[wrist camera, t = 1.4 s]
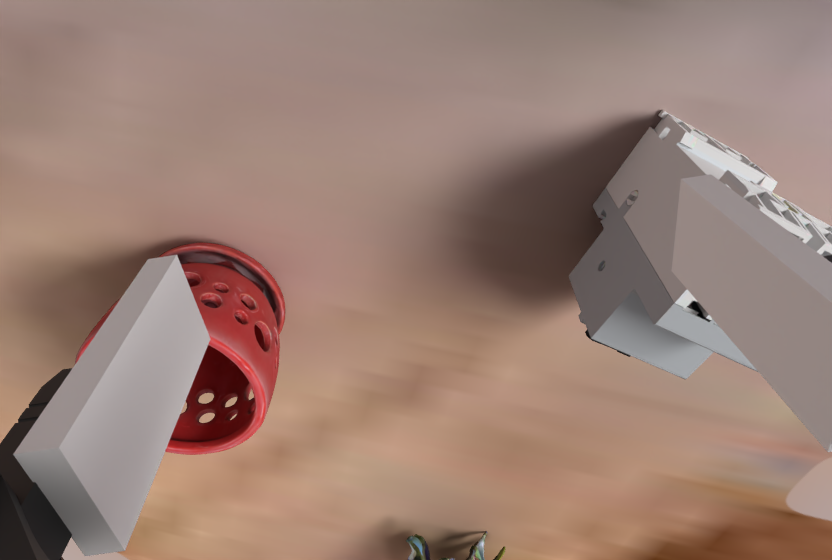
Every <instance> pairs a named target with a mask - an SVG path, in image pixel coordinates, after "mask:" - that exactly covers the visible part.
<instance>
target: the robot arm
mask: <svg viewBox="0 0 832 560" xmlns="http://www.w3.org/2000/svg"><path fill="white" fill-rule="evenodd" d="M671 271H672V272H673V273H674V275H675V276H676V277H677V278H678V279H679V280H680V282H681V283H682V284H683V285H684V286H685V287H686V288H687V290H688V291H689V292H690V293H691V294H692V295H693V297H694V298H695V299H696V300H697V301H698V302H699V304H700V305H701V306H702V307H703V308H704V309H705V310H706V312H707V313H708V314H709V315H710V316H711V317H712V319H713V320H714V321H715V322H716V323H717V324H718V326H719V327H720V328H721V329H722V330H723V331H724V333H725V334H726V335H727V336H728V337H729V338H730V339H731V341H732V342H733V343H734V344H735V345H736V346H737V348H738V349H739V350H740V351H741V352H742V353H743V355H744V356H745V357H746V358H747V359H748V360H749V361H750V363H751V364H752V365H753V366H754V367H755V368H756V370H757V371H758V372H759V373H760V374H761V375H762V377H763V378H764V379H765V380H766V381H767V382H768V383H769V385H770V386H771V387H772V388H773V389H774V390H775V392H776V393H777V394H778V395H779V396H780V397H781V399H782V400H783V401H784V402H785V403H786V404H787V406H788V407H789V408H790V409H791V410H792V411H793V412H794V414H795V415H796V416H797V417H798V418H799V419H800V421H801V422H802V423H803V424H804V425H805V426H806V428H807V429H808V430H809V431H810V432H811V433H812V434H813V436H814V437H815V438H816V439H817V440H818V441H819V443H820V444H821V445H822V446H823V447H824V448H825V450H826V451H827V452H832V255H828V256H822V255H820V254H819V253H817V252H816V251H815V250H813V249H812V248H811V247H809V246H808V245H807V244H805V243H804V242H802V241H801V240H800V239H798V238H797V237H796V236H794V235H793V234H792V233H790V232H789V231H787V230H786V229H785V228H783V227H782V226H781V225H779V224H778V223H777V222H775V221H774V220H772V219H771V218H770V217H768V216H767V215H766V214H764V213H763V212H762V211H760V210H759V209H757V208H756V207H755V206H753V205H752V204H751V203H749V202H748V201H747V200H745V199H744V198H742V197H741V196H740V195H738V194H737V193H736V192H734V191H733V190H732V189H730V188H729V187H727V186H726V185H725V184H723V183H722V182H721V181H719V180H718V179H717V178H715V177H714V176H712V175H711V174H709V175H703V176H696V177H689V178H683V179H681V182H680V192H679V202H678V212H677V221H676V231H675V241H674V251H673V261H672V270H671ZM209 341H210V337H209V334H208V331H207V329H206V326H205V324H204V321H203V319H202V316H201V314H200V311H199V309H198V306H197V304H196V301H195V299H194V296H193V294H192V291H191V289H190V286H189V284H188V281H187V279H186V276H185V274H184V271H183V269H182V266H181V264H180V261H179V259H178V256H177V255H172V256H165V257H158V258H152V259H148V260H147V261H146V263H145V264H144V266H143V267H142V269H141V270H140V271H139V273H138V274H137V276H136V277H135V279H134V280H133V282H132V283H131V285H130V286H129V287H128V289H127V290H126V292H125V293H124V295H123V296H122V298H121V299H120V300H119V302H118V303H117V305H116V306H115V308H114V309H113V311H112V312H111V313H110V315H109V316H108V318H107V319H106V321H105V322H104V324H103V325H102V326H101V328H100V329H99V331H98V332H97V334H96V335H95V337H94V338H93V340H92V341H91V342H90V344H89V345H88V347H87V348H86V350H85V351H84V353H83V354H82V355H81V357H80V358H79V360H78V361H77V363H76V364H75V366H74V367H73V368H71V369H64V370H62V371H60V372H59V373H58V374H57V375H56V376H54V377H53V378H52V379H51V380H50V381H48V382H47V383H46V384H45V385H43V386H42V387H41V389H40V390H39V391H38V393H37V394H36V396H35V397H34V398H33V400H32V401H31V402H30V404H29V408H26V409H25V411H24V412H23V413H22V415H21V416H20V418H19V419H18V423H15V424H14V426H13V427H12V428H11V430H10V431H9V433H8V434H7V435H6V437H5V438H4V439H3V441H2V442H1V444H0V560H64V559H63V558H62V554H63V552H64V550H65V548H66V546H67V544H68V542H69V540H70V538H71V537H72V539H73V540H74V541H75V543H76V544H77V546H78V547H79V548H80V550H81V551H82V553H83V554H84V555H85V556H90V555H98V554H105V553H112V552H119V551H125V549H126V547H127V544H128V542H129V539H130V537H131V534H132V532H133V529H134V527H135V525H136V522H137V520H138V517H139V515H140V512H141V510H142V507H143V505H144V502H145V500H146V497H147V495H148V492H149V490H150V487H151V485H152V482H153V480H154V478H155V475H156V473H157V470H158V468H159V465H160V463H161V460H162V458H163V455H164V453H165V450H166V448H167V445H168V443H169V440H170V438H171V435H172V433H173V430H174V428H175V426H176V423H177V421H178V418H179V416H180V413H181V411H182V408H183V406H184V403H185V401H186V398H187V396H188V393H189V391H190V388H191V386H192V383H193V381H194V379H195V376H196V374H197V371H198V369H199V366H200V364H201V361H202V359H203V356H204V354H205V351H206V349H207V346H208V344H209Z"/></svg>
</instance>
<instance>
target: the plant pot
mask: <svg viewBox="0 0 832 560" xmlns="http://www.w3.org/2000/svg"><path fill="white" fill-rule="evenodd" d="M172 255H177V256H178V259H179V261H180V264H181V266H182V269H183V271H184V274H185V276H186V279H187V281H188V284H189V286H190V289H191V291H192V294H193V296H194V299H195V301H196V304H197V306H198V309H199V311H200V314H201V316H202V319H203V321H204V324H205V326H206V329H207V331H208V334H209V337H210V341H209V344H208V346H207V349H206V351H205V354H204V356H203V359H202V361H201V364H200V366H199V369H198V371H197V374H196V376H195V379H194V381H193V383H192V386H191V388H190V391H189V393H188V396H187V398H186V402H187V409H186V411H185V412H184V413H182V414H180V416H179V418H178V421H177V423H176V426H175V428H174V430H173V433H172V435H171V438H170V440H169V443H168V445H167V448H166V450H165V452H170V453H177V454H186V455H197V454H207V453H215V452H220V451H224V450H227V449H230V448H233V447H235V446H237V445H239V444H241V443H243V442H244V441H246V440H247V439H249V438H250V437H251V436H252V435H253V434H254V433H255V432H256V431H257V430H258V429H259V428H260V426H261V425H262V423H263V421H264V419H265V416H266V414H267V410H268V407H269V404H270V401H271V398H272V395H273V391H274V387H275V383H276V378H277V373H278V366H279V350H280V343H279V334H280V332H281V330H282V327H283V324H284V320H285V302H284V298H283V295H282V292H281V290H280V288H279V286H278V284H277V283H276V281H275V279H274V278H273V277H272V275H271V274H270V273H269V272H268V271H267V270H266V269H265V268H264V267H263V266H262V265H261V264H260V263H259V262H257V261H256V260H254V259H253V258H251V257H250V256H248V255H246V254H244V253H242V252H240V251H238V250H235V249H233V248H230V247H227V246H223V245H219V244H212V243H192V244H187V245H182V246H179V247H176V248H173V249H171V250H169V251H167V252H165V253H163V254H162V255H160V256H159V257H165V256H172ZM121 298H122V297H121ZM121 298H120V299H121ZM120 299H119V300H120ZM119 300H118V301H117V302H116V303H115V304H114V305H113V306H112V307H111V308H110V309H109V311H108V312H107V313H106V314H105V315H104V316H103V317H102V319H101V320H100V321H99V322H98V323H97V325H96V326H95V327H94V329H93V330H92V331H91V333H90V334H89V335H88V337H87V338H86V340H85V341H84V343H83V344H82V346H81V348H80V350H79V352H78V354H77V357H76V361H75V364H76V363H77V361H78V360H79V358H80V357H81V355H82V354H83V353H84V351H85V350H86V348H87V347H88V345H89V344H90V342H91V341H92V340H93V338H94V337H95V335H96V334H97V332H98V331H99V329H100V328H101V326H102V325H103V324H104V322H105V321H106V319H107V318H108V316H109V315H110V313H111V312H112V311H113V309H114V308H115V306H116V305H117V303H118V302H119ZM251 389H252V390H253V393H254V398H252V399H251V400H249V399H248V397H249V393H250V391H251ZM204 393H213V394H214V398H213V400H212V401H211V402H209V403H207V404H201V403H199V402H198V399H199V397H200V396H201V395H202V394H204ZM233 397H238V398H237V401H236V403H235V404H234V405H232V406H230V407H225V404H226V402H227V401H228V400H229V399H231V398H233ZM205 413H214V414H215V417H214V418H213V419H212V420H211V421H210V422H207V423H200V422H199V419H200V417H201V416H202V415H204V414H205ZM235 414H237V415H236V417H235V418H234V419H232V420H230V419H231V418H232V416H234V415H235Z"/></svg>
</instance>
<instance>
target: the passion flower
mask: <svg viewBox="0 0 832 560" xmlns="http://www.w3.org/2000/svg"><path fill="white" fill-rule="evenodd" d="M487 533H488V532H487V531H486V532H485V533H484V534H483V536H482V538H481V540H480V541H479V542H476V543H475V545H473V546H472V547H471V549H470V554H469V557H468V558H467V559H466V560H475V557H477V558H478V559H479V560H485V559H484V541H485V536H486V534H487ZM406 542H408V543H409V544H410V547H411V549H412V552H411V554H410V555H409V557H408V560H430V554H429V549H428V545H427V543H426V542H425V540H424V538H423V537H422V536H419V535H417V534H415V536H409V537H408V539H407V540H406ZM504 553H505V547H503V548H502V549H501V551H500V552H499V554H498V555H497V556H496V557H495V558H494V559H493V560H500V559H501V558H502V556H503V555H504ZM439 560H455V559H454V558H451V559H449V558H441V559H439Z"/></svg>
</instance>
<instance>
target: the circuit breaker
mask: <svg viewBox="0 0 832 560" xmlns="http://www.w3.org/2000/svg"><path fill="white" fill-rule="evenodd" d="M658 116H660V117H661V118H662V119H661V121H660V122H659V123H658V125H657V126H656V127H655V129H653V128H651V127H649V129H648V130H647V131H646V133H645V134H644V135H643V137H642V138H641V140H640V141H639V142H638V144H637V145H636V146H635V148H634V149H633V150H632V152H631V153H630V155H629V156H628V157H627V159H626V160H625V161H624V163H623V164H622V166H621V167H620V168H619V170H618V171H617V172H616V174H615V175H614V177H613V178H612V179H611V181H610V182H609V183H608V185H607V186H606V188H605V189H604V190H603V192H602V193H601V194H600V196H599V197H598V199H597V200H596V201H595V203H594V204H593V208H594V210H595V212H596V214H597V216H598V217H599V218H601V219H603V220H602V221H600V222H601V224H602V226H603V228H604V230H603V231H602V232H601V234H600V235H599V236H598V237H597V239H596V240H595V241H594V243H593V244H592V245H591V247H590V248H589V249H588V251H587V252H586V253H585V255H584V256H583V257H582V259H581V260H580V261H579V263H578V264H577V265H576V267H575V268H574V269H573V271H572V272H571V273H570V275H569V279H570V282H571V285H572V287H573V290H574V293H575V296H576V299H577V301H578V304H579V307H580V310H581V313H580V314H579V319H580V322H582V323H584V324H586V327H587V331H586V332H585V333H586V335H587V337H588V338H589V339H591V340H592V341H595V342H597V343H600V344H603V345H605V346H608V347H610V348H612V349H615V350H617V352H620V353H622V354H624V355H627V356H629V357H630V356H633V357H635V358H637V359H640V360H642V361H644V362H646V363H649V364H651V365H653V366H656V367H658V368H660V369H662V370H665V371H667V372H669V373H672V374H674V375H676V376H678V377H681V378H683V379H687V378H688V377H689V376H690V375H691V374H692V373H693V372H694V371H695V370H696V369H697V368H698V367H699V366H700V365H701V364H702V363H703V362H704V361H705V360H706V359H707V358H708V357H709V356H710V355H711V354H712V353H713V352H715V353H717V354H720V355H722V356H724V357H726V358H728V359H731V360H733V361H735V362H737V363H739V364H742V365H744V366H746V367H748V368H750V369H753V370H755V371H757V370H756V368H755V367H754V366H753V365H752V364H751V363H750V361H749V360H748V359H747V358H746V357H745V356H744V355H743V353H742V352H741V351H740V350H739V349H738V348H737V346H736V345H735V344H734V343H733V342H732V341H731V339H730V338H729V337H728V336H727V335H726V334H725V333H724V331H723V330H722V329H721V328H720V327H719V326H718V324H717V323H716V322H715V321H714V320H713V319H712V317H711V316H710V315H709V314H708V313H707V312H706V310H705V309H704V308H703V307H702V306H701V305H700V304H699V302H698V301H697V300H696V299H695V298H694V297H693V295H692V294H691V293H690V292H689V291H688V290H687V288H686V287H685V286H684V285H683V284H682V283H681V282H680V280H679V279H678V278H677V277H676V276H675V275H674V273H673V272H672V271H671V270H672V261H673V251H674V241H675V231H676V221H677V212H678V202H679V192H680V182H681V179H683V178H689V177H696V176H703V175H709V174H711V175H712V176H714V177H715V178H717V179H718V180H719V181H721V182H722V183H723V184H725V185H726V186H727V187H729V188H730V189H732V190H733V191H734V192H736V193H737V194H738V195H740V196H741V197H742V198H744V199H745V200H747V201H748V202H749V203H751V204H752V205H753V206H755V207H756V208H757V209H759V210H760V211H762V212H763V213H764V214H766V215H767V216H768V217H770V218H771V219H772V220H774V221H775V222H777V223H778V224H779V225H781V226H782V227H783V228H785V229H786V230H787V231H789V232H790V233H792V234H793V235H794V236H796V237H797V238H798V239H800V240H801V241H802V242H804V243H805V244H807V245H808V246H809V247H811V248H812V249H813V250H815V251H816V252H817V253H819V254H820V255H822V256H828V255H832V226H830V225H828V224H826V223H824V222H823V221H821V220H819V219H817V218H815V217H813V216H812V215H810V214H808V213H806V212H804V211H803V210H802V209H801V208H800V207H798V206H796V205H795V204H793V203H791V202H789V201H787V200H786V199H784V198H782V197H780V196H778V195H776V194H775V193H773V192H772V191H773V189H774V188H775V186H776V184H777V183H778V182H777V181H776V180H774V179H773V178H772V177H771V176H769V175H768V174H767V173H766V172H765V171H763V170H762V169H761V168H760V167H758V166H757V165H756V164H754V163H752V162H751V161H750V160H749V158H747V157H746V156H744V155H743V154H741V153H739V152H737V151H735V150H734V149H732V148H730V147H728V146H726V145H725V144H723V143H721V142H719V141H717V140H716V139H714V138H712V137H710V136H708V135H707V134H705V133H703V132H701V131H699V130H698V129H696V128H694V127H692V126H691V125H689V124H687V123H685V122H683V121H682V120H680V119H678V118H676V117H674V116H673V115H671V114H669V113H667V112H665V111H664V110H662V111H661V112H660V113H659V115H658ZM757 372H758V371H757Z"/></svg>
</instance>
